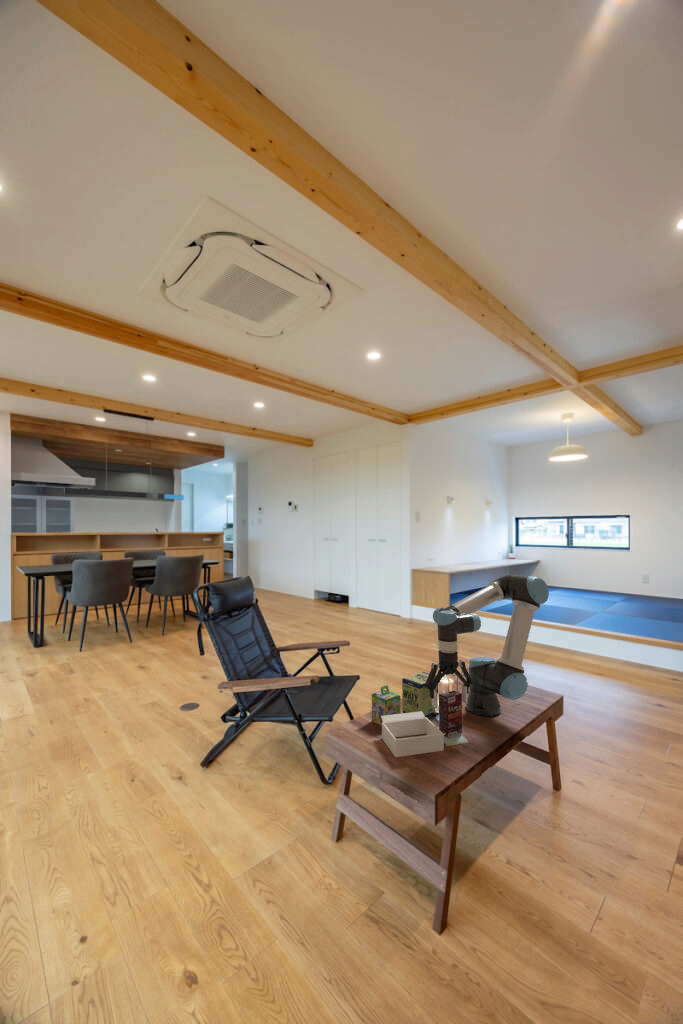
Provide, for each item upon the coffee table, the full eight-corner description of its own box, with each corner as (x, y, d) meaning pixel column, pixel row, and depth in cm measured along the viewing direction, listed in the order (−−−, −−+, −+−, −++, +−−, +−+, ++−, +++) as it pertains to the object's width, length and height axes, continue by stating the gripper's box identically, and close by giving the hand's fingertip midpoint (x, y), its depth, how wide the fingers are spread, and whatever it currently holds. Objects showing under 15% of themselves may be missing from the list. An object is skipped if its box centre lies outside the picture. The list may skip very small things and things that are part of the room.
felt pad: (451, 727, 167) (451, 726, 167) (468, 743, 154) (468, 741, 154) (431, 730, 165) (431, 728, 165) (447, 745, 152) (447, 744, 152)
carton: (423, 729, 165) (423, 710, 166) (447, 754, 146) (447, 733, 147) (379, 734, 161) (379, 715, 161) (398, 761, 141) (398, 739, 142)
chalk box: (386, 729, 166) (386, 692, 166) (370, 721, 173) (370, 686, 174) (401, 722, 171) (401, 687, 172) (385, 715, 178) (385, 681, 179)
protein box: (401, 713, 180) (401, 678, 181) (423, 704, 190) (423, 671, 191) (420, 721, 172) (419, 684, 173) (442, 711, 182) (441, 676, 183)
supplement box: (447, 740, 155) (447, 698, 156) (438, 734, 159) (438, 694, 160) (463, 734, 160) (462, 693, 161) (453, 729, 164) (453, 689, 165)
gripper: (470, 645, 168) (472, 696, 167) (415, 650, 162) (417, 704, 161) (480, 650, 161) (482, 704, 160) (423, 655, 155) (425, 712, 154)
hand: (449, 704), depth 160 cm, fingers open, 13 cm apart
